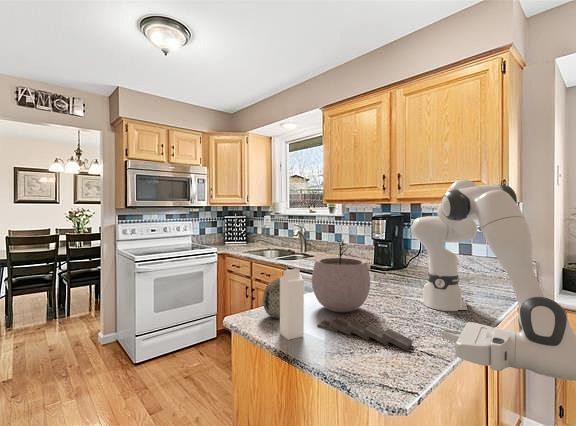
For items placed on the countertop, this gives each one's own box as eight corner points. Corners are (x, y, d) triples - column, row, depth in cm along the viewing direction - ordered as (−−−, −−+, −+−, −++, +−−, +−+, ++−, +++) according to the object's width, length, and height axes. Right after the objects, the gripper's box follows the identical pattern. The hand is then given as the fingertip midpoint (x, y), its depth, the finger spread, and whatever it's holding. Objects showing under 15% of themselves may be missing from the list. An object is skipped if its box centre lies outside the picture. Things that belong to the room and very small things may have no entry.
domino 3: (373, 335, 105) (352, 324, 109) (374, 331, 105) (353, 320, 109) (368, 340, 101) (346, 328, 105) (369, 336, 101) (347, 324, 105)
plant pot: (332, 324, 115) (332, 242, 114) (301, 305, 136) (301, 236, 136) (382, 314, 125) (383, 239, 124) (346, 298, 147) (347, 234, 146)
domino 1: (343, 329, 112) (324, 324, 116) (343, 325, 112) (324, 320, 116) (337, 334, 108) (317, 328, 112) (337, 329, 108) (317, 324, 112)
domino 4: (392, 340, 101) (369, 328, 106) (393, 335, 101) (370, 324, 105) (387, 345, 97) (363, 333, 102) (388, 341, 97) (364, 328, 101)
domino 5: (411, 345, 98) (386, 332, 102) (412, 340, 97) (388, 328, 102) (407, 351, 93) (381, 337, 98) (408, 346, 93) (382, 333, 98)
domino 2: (356, 330, 109) (335, 321, 113) (357, 326, 108) (336, 317, 113) (350, 335, 105) (329, 326, 109) (351, 331, 104) (330, 321, 109)
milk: (279, 333, 106) (279, 268, 106) (295, 330, 109) (295, 267, 109) (288, 340, 101) (287, 272, 101) (304, 336, 104) (303, 270, 103)
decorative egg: (256, 318, 121) (256, 279, 121) (277, 310, 130) (277, 274, 129) (278, 325, 113) (278, 284, 113) (299, 317, 122) (299, 278, 122)
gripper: (504, 322, 89) (450, 312, 98) (498, 347, 73) (434, 333, 81) (503, 344, 89) (450, 333, 98) (498, 374, 73) (434, 357, 81)
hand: (443, 333), depth 89 cm, fingers closed
